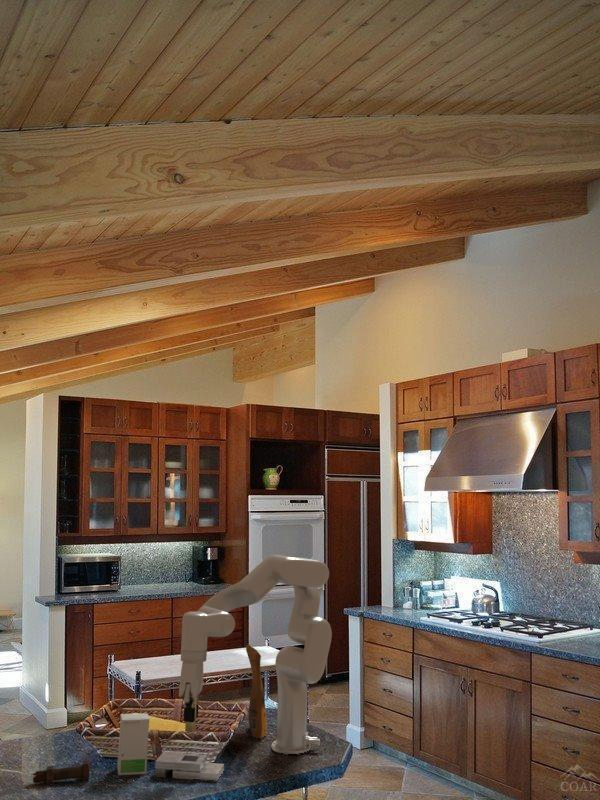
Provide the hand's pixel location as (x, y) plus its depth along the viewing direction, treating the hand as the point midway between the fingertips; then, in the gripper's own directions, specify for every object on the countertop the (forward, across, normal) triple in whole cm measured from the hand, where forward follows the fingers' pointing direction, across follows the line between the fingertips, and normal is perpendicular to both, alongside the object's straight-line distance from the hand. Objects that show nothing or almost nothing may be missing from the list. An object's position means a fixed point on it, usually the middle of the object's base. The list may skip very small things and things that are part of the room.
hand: (190, 719), depth 235 cm
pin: (+3, 0, 0) cm, 3 cm away
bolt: (+16, +12, -33) cm, 39 cm away
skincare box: (+16, +1, -17) cm, 23 cm away
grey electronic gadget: (+16, 0, 0) cm, 16 cm away
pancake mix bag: (+15, -41, +12) cm, 46 cm away
